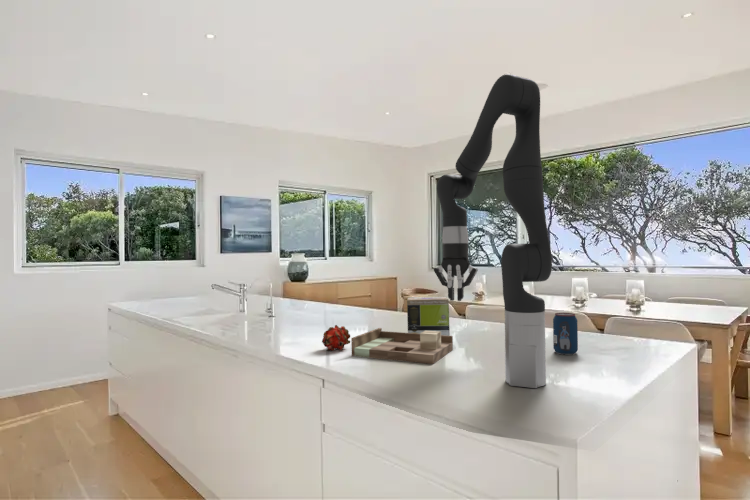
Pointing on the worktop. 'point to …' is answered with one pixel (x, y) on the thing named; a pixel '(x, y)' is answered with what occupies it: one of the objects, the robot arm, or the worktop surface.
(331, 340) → the dragon fruit
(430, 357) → the trap board
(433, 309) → the tea box
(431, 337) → the birch block
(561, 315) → the soda can
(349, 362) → the worktop surface
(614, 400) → the worktop surface
